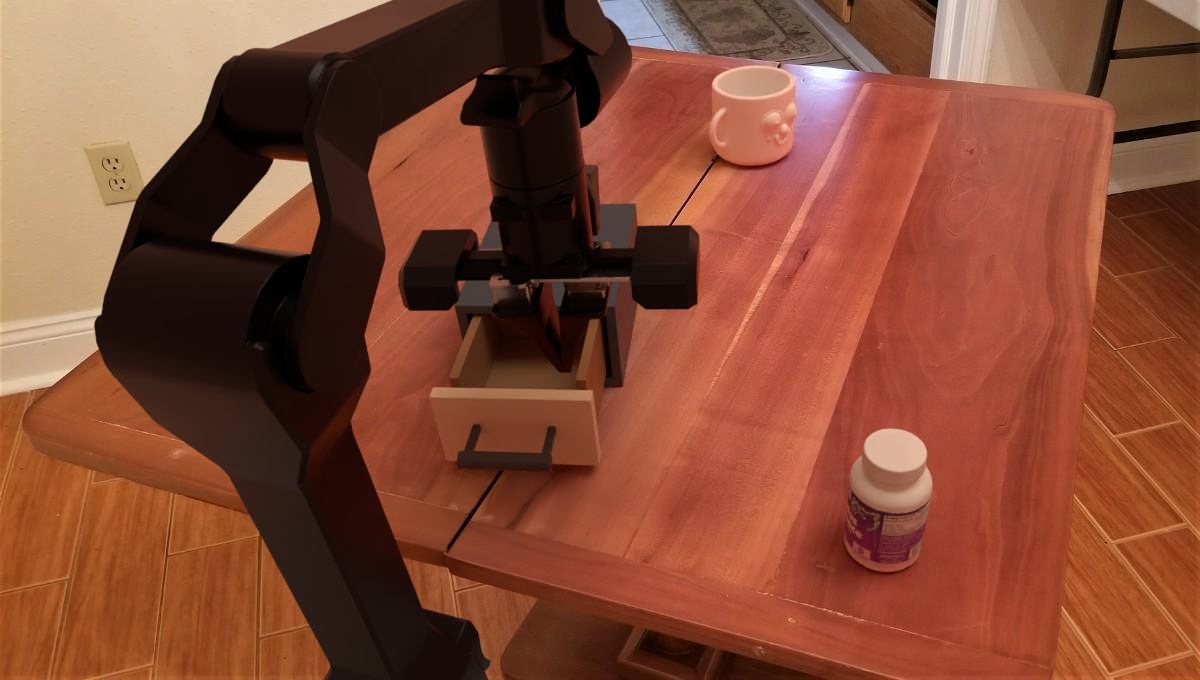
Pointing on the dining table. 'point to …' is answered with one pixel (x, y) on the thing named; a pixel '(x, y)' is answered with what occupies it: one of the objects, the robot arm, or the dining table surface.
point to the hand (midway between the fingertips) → (566, 368)
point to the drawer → (521, 401)
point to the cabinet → (621, 310)
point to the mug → (753, 114)
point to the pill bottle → (888, 501)
